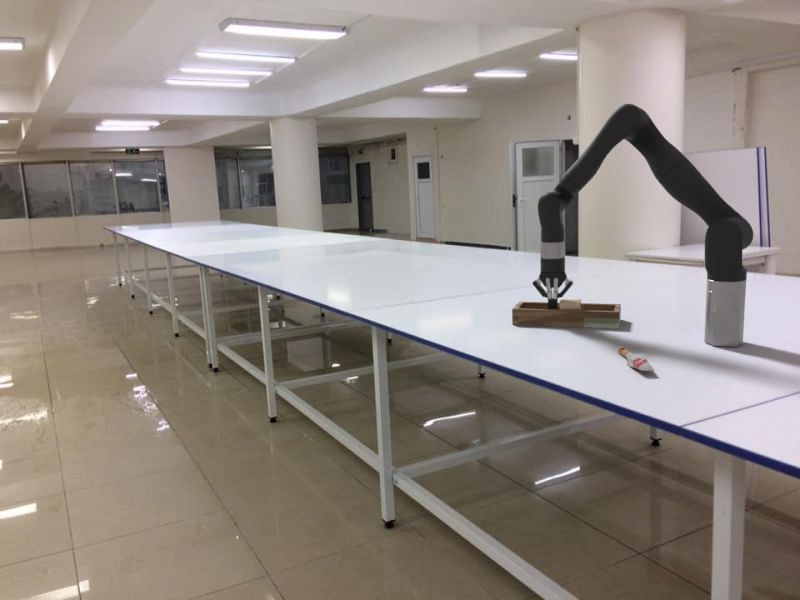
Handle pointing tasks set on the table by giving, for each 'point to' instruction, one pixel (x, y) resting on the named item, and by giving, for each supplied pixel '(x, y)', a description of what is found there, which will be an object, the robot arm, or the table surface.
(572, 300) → the beech block
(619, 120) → the robot arm
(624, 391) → the table surface
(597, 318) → the box
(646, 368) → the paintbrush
